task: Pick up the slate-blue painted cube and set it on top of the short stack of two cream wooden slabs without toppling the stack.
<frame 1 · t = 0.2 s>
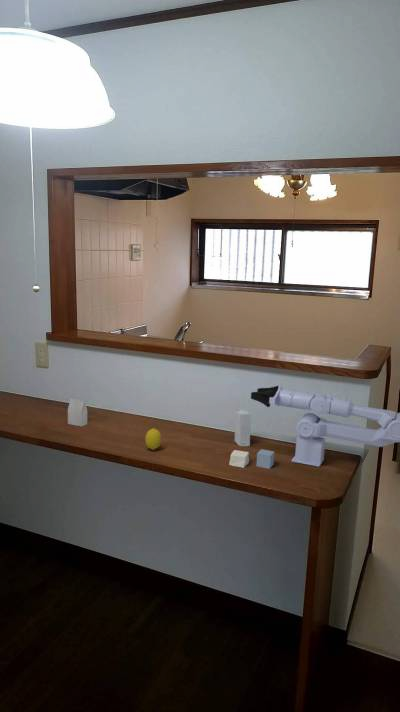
hand: (254, 393, 179), 21 cm above the table, tool horizontal, fingers open, 7 cm apart
slab bottom: (239, 465, 171), on the table, touching slab top
blue cube: (265, 465, 170), on the table
skincare box: (241, 444, 190), on the table
lemon: (153, 450, 180), on the table
slab top: (239, 459, 170), point 2 cm above the table, touching slab bottom
white upright block: (77, 424, 207), on the table
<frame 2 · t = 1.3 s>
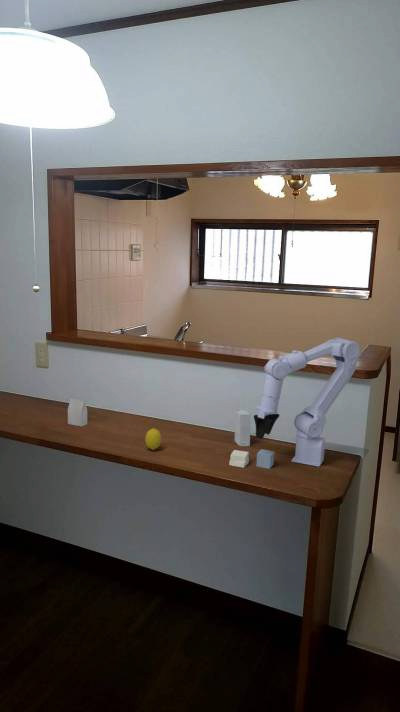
hand: (262, 435, 169), 10 cm above the table, tool pointing down, fingers open, 7 cm apart
nothing on the table moved.
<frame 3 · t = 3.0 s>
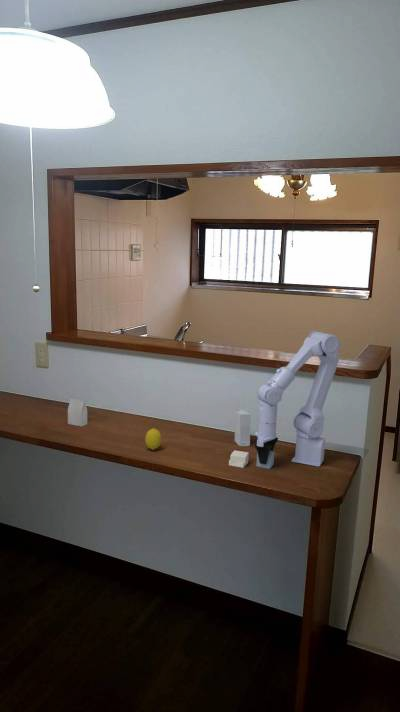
hand: (265, 461, 170), 1 cm above the table, tool pointing down, fingers closed on blue cube, 4 cm apart
slab bottom: (238, 465, 171), on the table
blue cube: (265, 465, 170), on the table, touching gripper
slab top: (239, 459, 170), point 1 cm above the table
everything else where it was.
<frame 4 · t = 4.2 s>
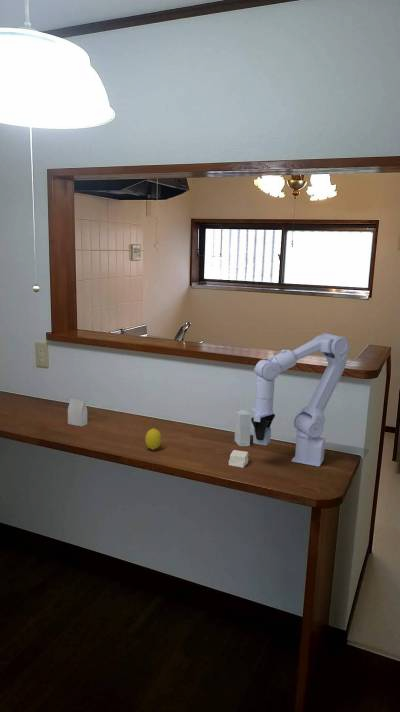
hand: (262, 437, 168), 9 cm above the table, tool pointing down, fingers closed on blue cube, 4 cm apart
slab bottom: (238, 465, 171), on the table, touching slab top
blue cube: (261, 442, 169), point 8 cm above the table, touching gripper
slab top: (238, 459, 170), point 2 cm above the table, touching slab bottom
everything else where it was.
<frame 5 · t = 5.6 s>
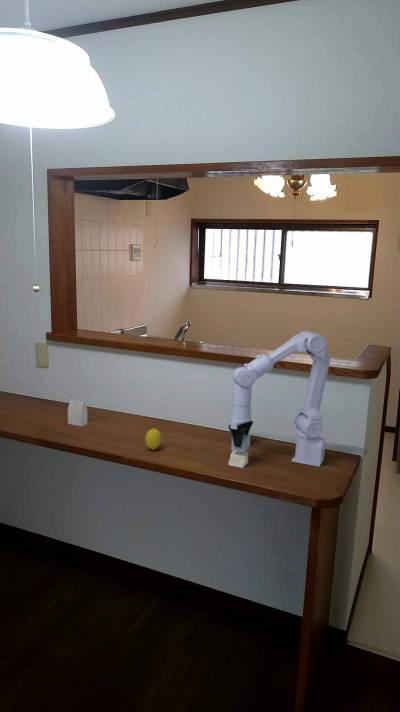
hand: (240, 444, 169), 7 cm above the table, tool pointing down, fingers closed on blue cube, 4 cm apart
slab bottom: (238, 465, 170), on the table
blue cube: (240, 449, 170), point 5 cm above the table, touching gripper
slab top: (239, 459, 170), point 2 cm above the table
everything else where it was.
when the fingers open (7 cm above the table, at t = 5.7 s): blue cube drops 2 cm, point 4 cm above the table.
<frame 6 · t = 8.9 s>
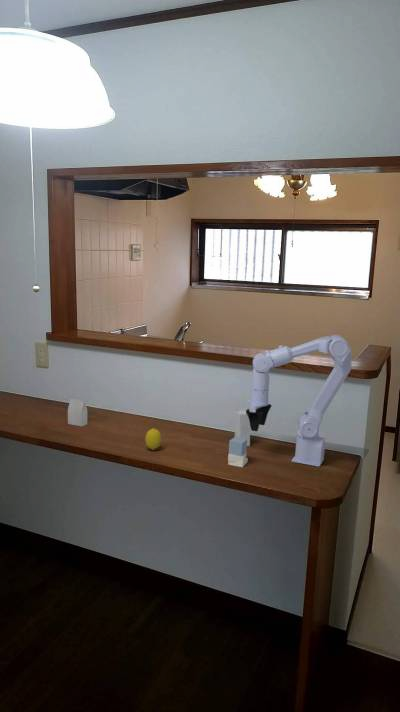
hand: (257, 427, 176), 10 cm above the table, tool pointing down, fingers open, 7 cm apart
slab bottom: (237, 464, 171), on the table, touching slab top
blue cube: (237, 453, 170), point 4 cm above the table
slab top: (237, 458, 171), point 1 cm above the table, touching slab bottom
everything else where it was.
at the end: blue cube 0.2 cm off-centre on the slab bottom, point 4.0 cm above the slab bottom's base; slab top 0.3 cm from the slab bottom (horizontally); blue cube tilted 0° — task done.
